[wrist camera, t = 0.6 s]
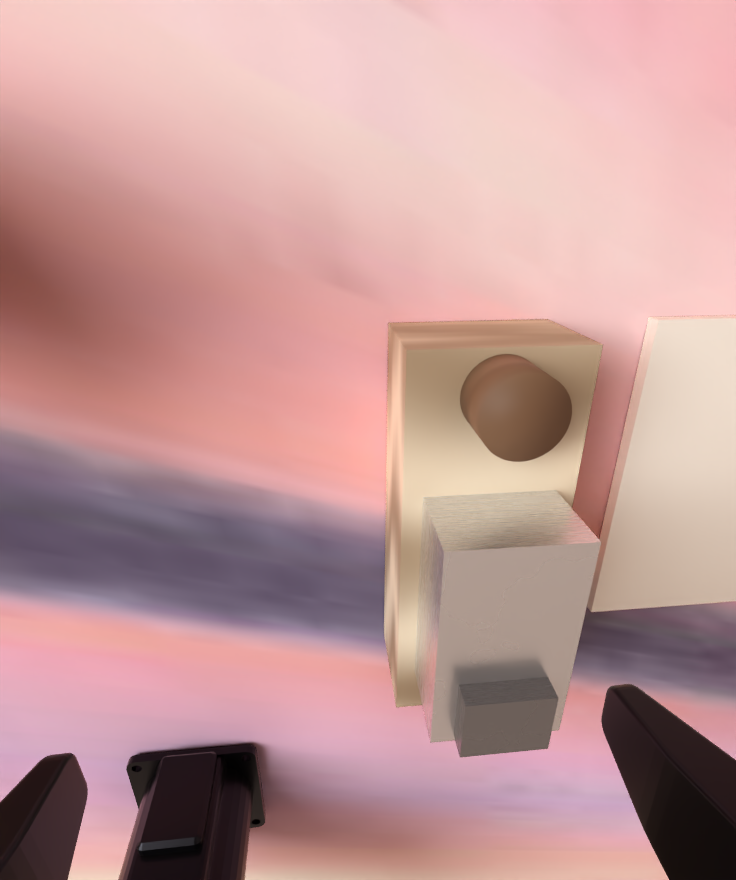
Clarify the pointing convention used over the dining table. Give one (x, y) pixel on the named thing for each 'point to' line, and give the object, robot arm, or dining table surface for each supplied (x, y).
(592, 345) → the body
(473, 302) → the dining table surface
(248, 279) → the dining table surface
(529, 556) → the lever cap
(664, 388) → the board
